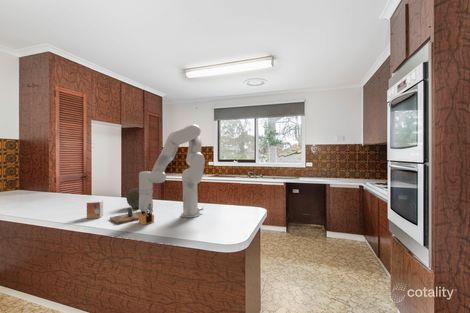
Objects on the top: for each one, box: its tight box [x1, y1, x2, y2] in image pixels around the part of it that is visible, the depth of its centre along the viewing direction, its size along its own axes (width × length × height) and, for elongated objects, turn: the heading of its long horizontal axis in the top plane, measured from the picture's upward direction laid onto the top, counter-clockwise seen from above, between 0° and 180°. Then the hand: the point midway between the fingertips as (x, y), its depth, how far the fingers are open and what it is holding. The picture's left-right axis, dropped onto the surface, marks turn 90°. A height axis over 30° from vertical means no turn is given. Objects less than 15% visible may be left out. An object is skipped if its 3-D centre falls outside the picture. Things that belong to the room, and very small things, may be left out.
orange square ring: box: [138, 213, 155, 225], centre depth 136 cm, size 7×7×4 cm
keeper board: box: [109, 206, 141, 226], centre depth 143 cm, size 20×14×7 cm
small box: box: [86, 199, 104, 219], centre depth 147 cm, size 8×6×10 cm
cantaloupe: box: [125, 187, 139, 209], centre depth 171 cm, size 14×14×15 cm
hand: (146, 220), depth 136 cm, fingers closed on orange square ring, 6 cm apart
